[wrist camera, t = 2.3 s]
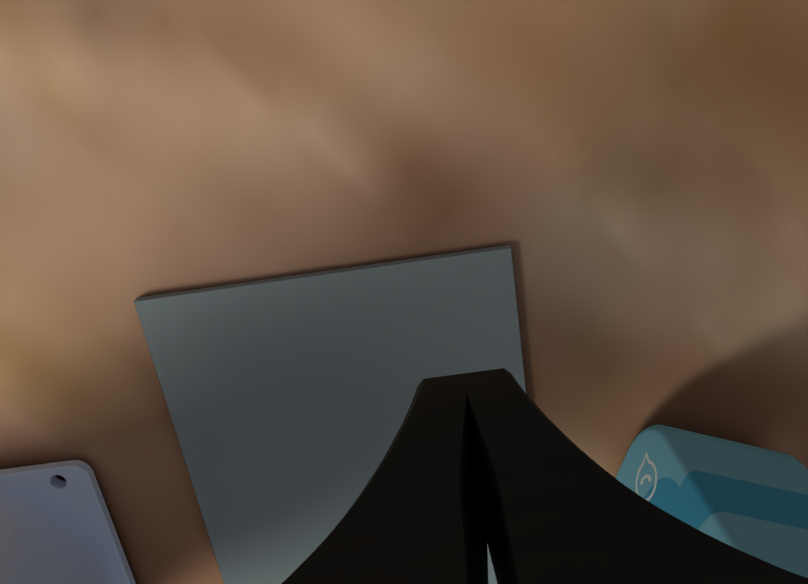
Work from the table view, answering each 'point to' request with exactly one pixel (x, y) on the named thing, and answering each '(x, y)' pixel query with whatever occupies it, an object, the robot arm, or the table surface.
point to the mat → (315, 387)
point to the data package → (725, 491)
